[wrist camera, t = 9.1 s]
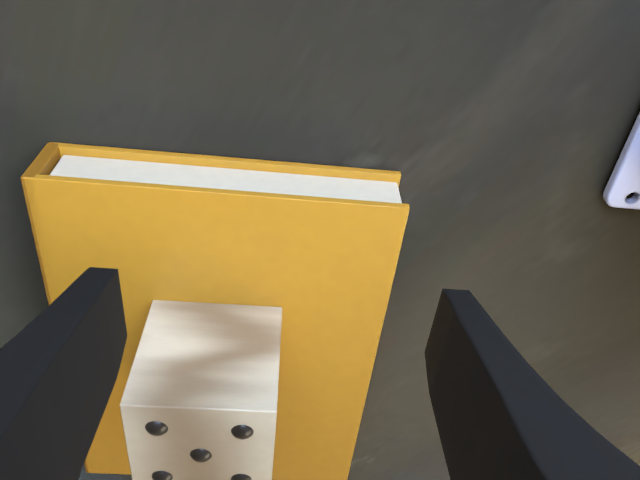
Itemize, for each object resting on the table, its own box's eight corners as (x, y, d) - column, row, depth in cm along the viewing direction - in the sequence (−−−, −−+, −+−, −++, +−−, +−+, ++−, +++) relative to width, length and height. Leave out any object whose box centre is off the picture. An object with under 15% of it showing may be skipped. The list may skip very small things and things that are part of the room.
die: (282, 306, 23) (276, 417, 19) (276, 390, 26) (270, 502, 22) (152, 299, 23) (117, 410, 18) (161, 385, 26) (132, 498, 21)
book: (400, 171, 22) (410, 208, 20) (343, 440, 32) (346, 484, 30) (47, 141, 21) (19, 177, 19) (100, 428, 31) (85, 472, 29)
